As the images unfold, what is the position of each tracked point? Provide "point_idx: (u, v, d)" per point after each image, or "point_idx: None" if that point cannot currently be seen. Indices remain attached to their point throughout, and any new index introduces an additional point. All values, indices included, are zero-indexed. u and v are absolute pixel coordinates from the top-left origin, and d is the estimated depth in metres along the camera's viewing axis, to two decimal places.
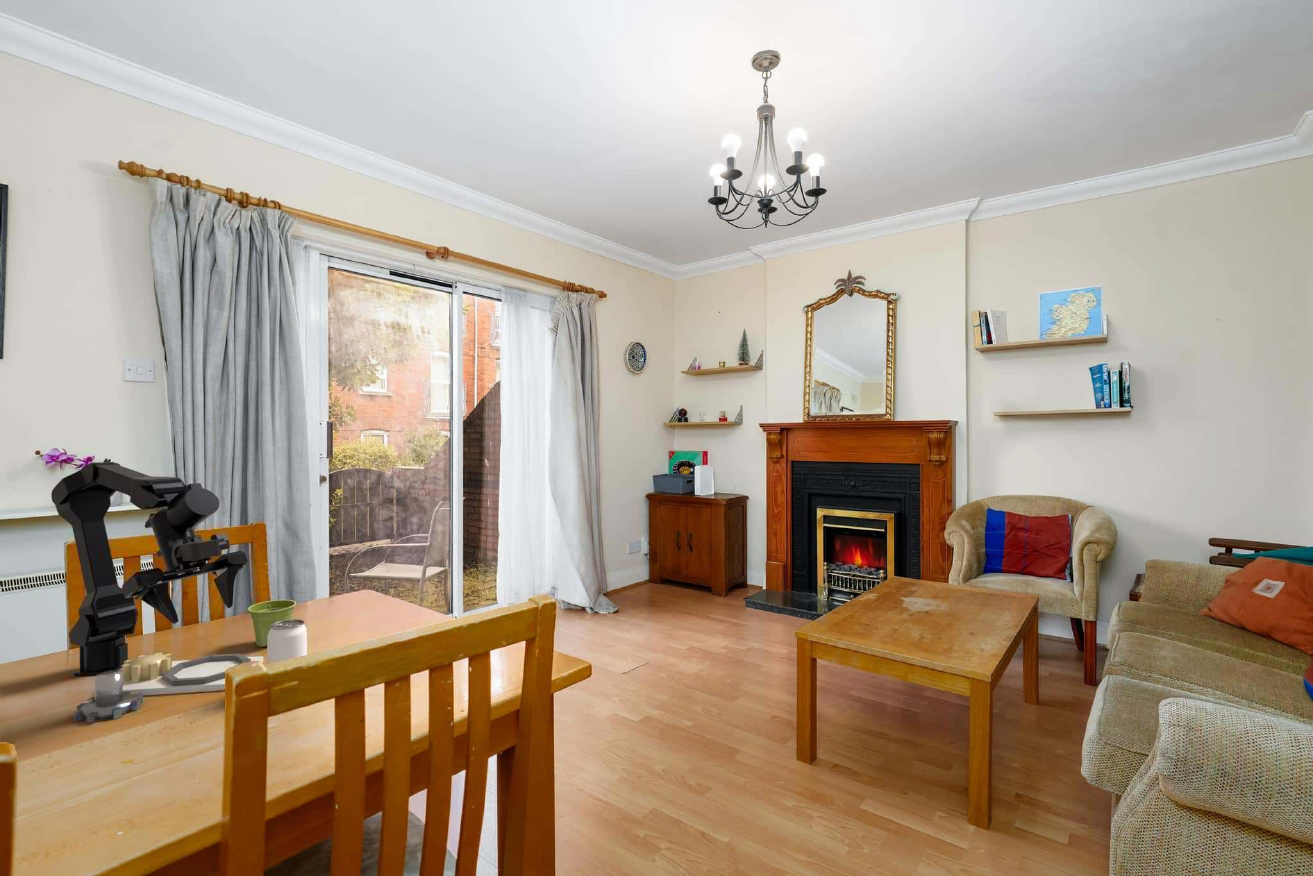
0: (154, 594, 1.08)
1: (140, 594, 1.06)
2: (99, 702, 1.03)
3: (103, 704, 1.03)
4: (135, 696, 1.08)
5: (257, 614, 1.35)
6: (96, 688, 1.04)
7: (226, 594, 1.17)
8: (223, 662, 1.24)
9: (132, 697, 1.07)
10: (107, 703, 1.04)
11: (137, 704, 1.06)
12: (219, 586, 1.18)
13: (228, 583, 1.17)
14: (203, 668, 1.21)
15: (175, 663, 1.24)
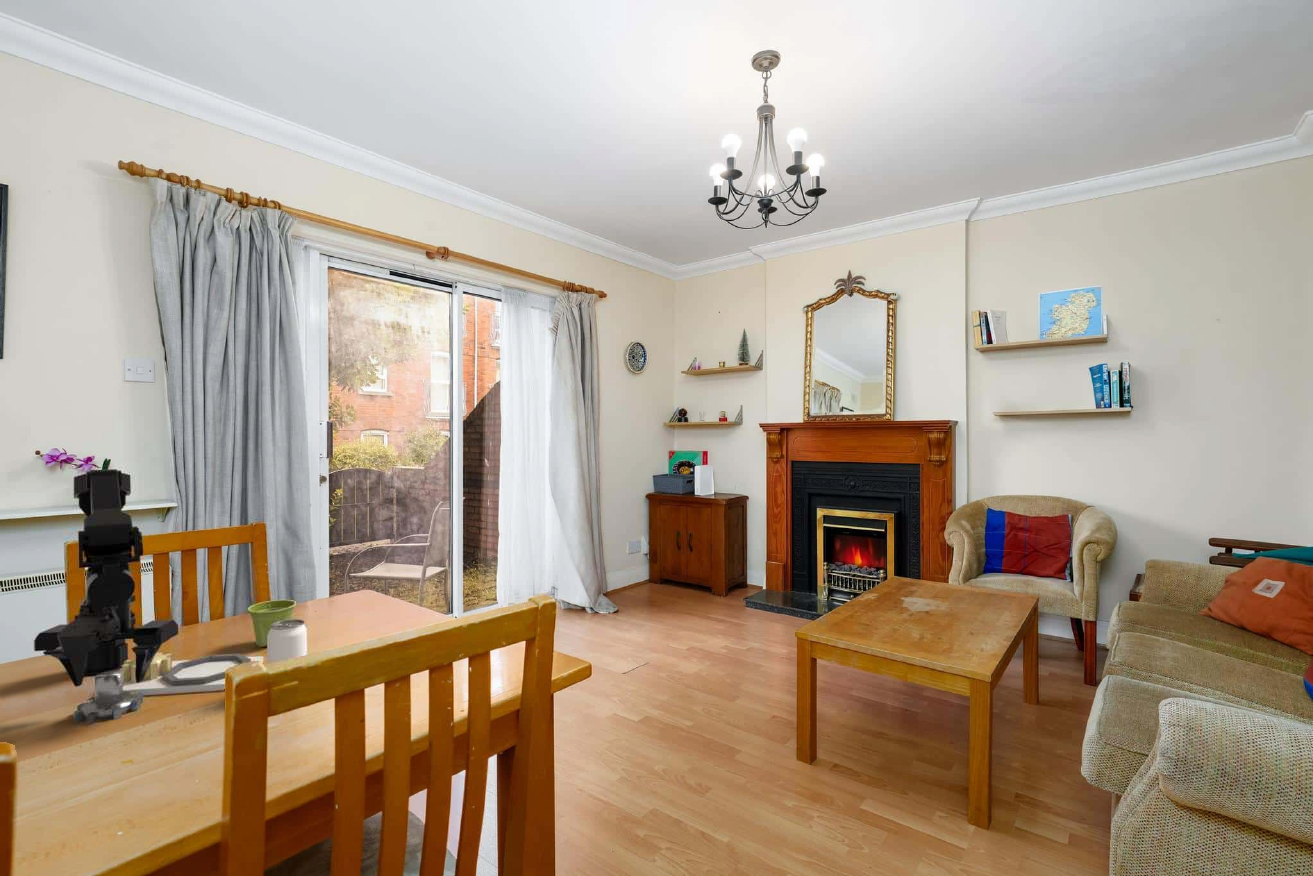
0: None
1: None
2: (99, 702, 1.03)
3: (103, 704, 1.03)
4: (135, 696, 1.08)
5: (257, 614, 1.35)
6: (96, 688, 1.04)
7: None
8: (223, 662, 1.24)
9: (132, 697, 1.07)
10: (107, 703, 1.04)
11: (137, 704, 1.06)
12: None
13: (136, 660, 1.05)
14: (203, 668, 1.21)
15: (175, 663, 1.24)
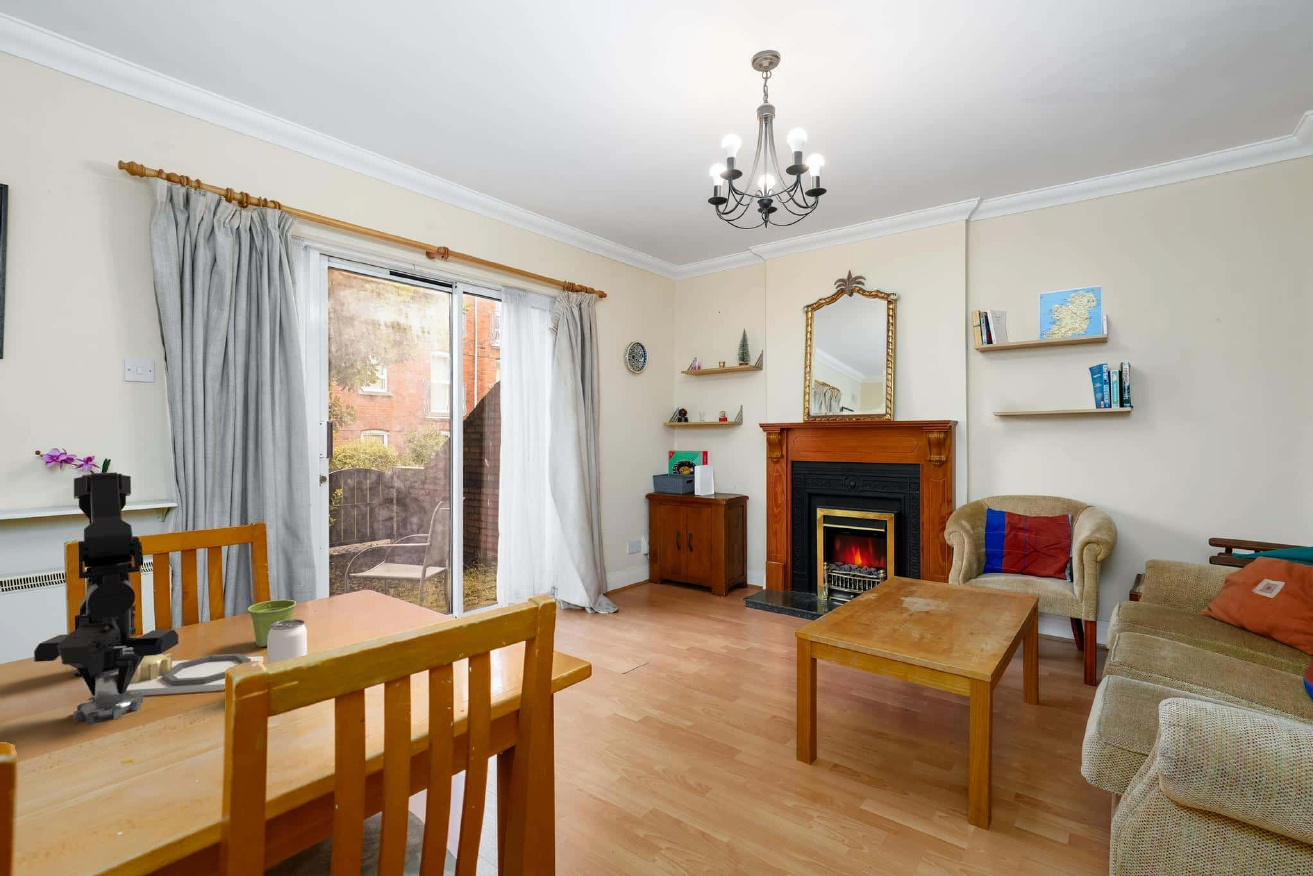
0: None
1: None
2: (99, 702, 1.03)
3: (103, 704, 1.03)
4: (135, 696, 1.08)
5: (257, 614, 1.35)
6: (96, 688, 1.04)
7: None
8: (223, 662, 1.24)
9: (132, 697, 1.07)
10: (107, 703, 1.04)
11: (137, 704, 1.06)
12: None
13: (119, 671, 1.04)
14: (203, 668, 1.21)
15: (175, 663, 1.24)
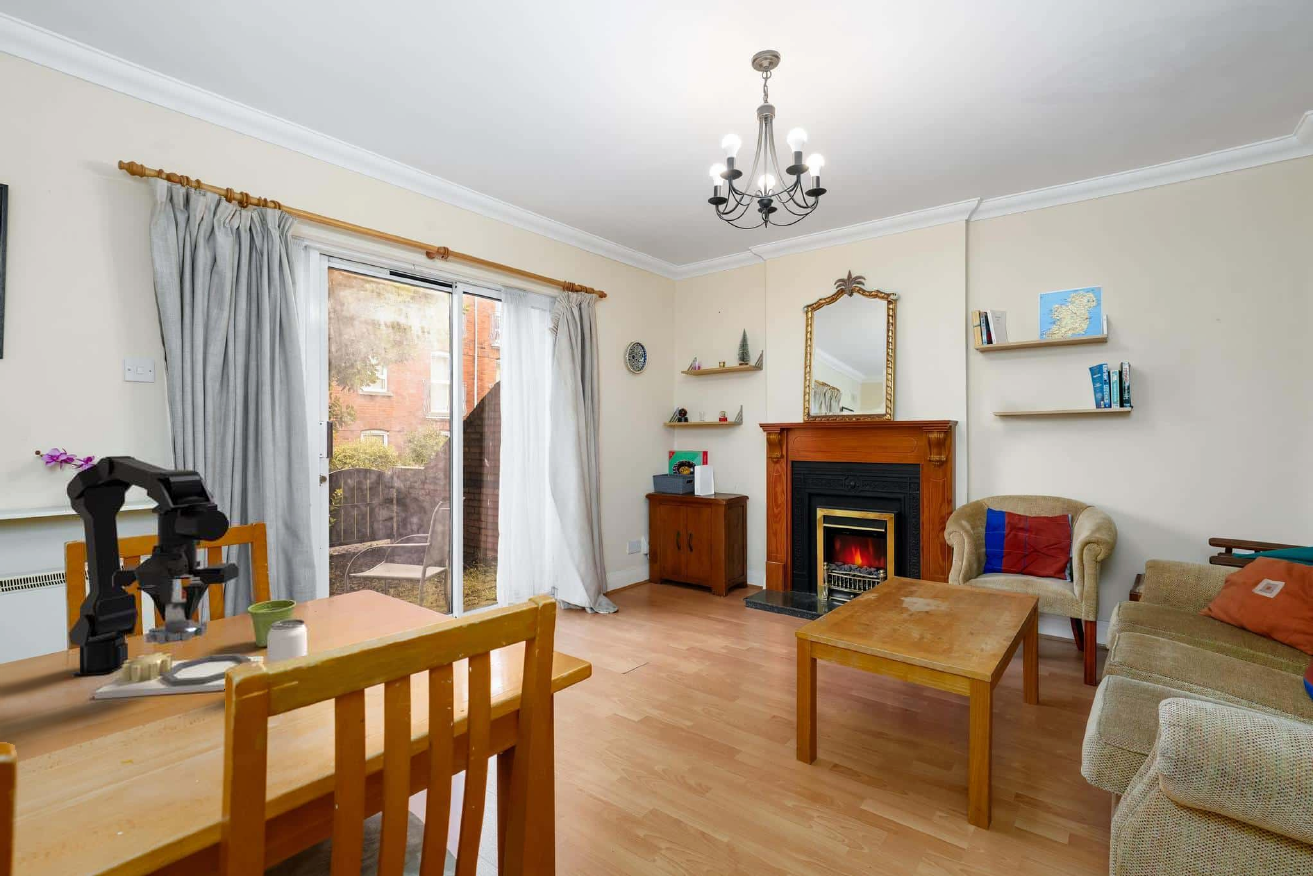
0: None
1: None
2: (169, 626, 1.13)
3: (172, 628, 1.13)
4: (200, 624, 1.17)
5: (257, 614, 1.35)
6: (166, 613, 1.13)
7: None
8: (223, 662, 1.24)
9: (197, 624, 1.17)
10: (176, 627, 1.13)
11: (202, 629, 1.15)
12: None
13: (187, 598, 1.14)
14: (203, 668, 1.21)
15: (175, 663, 1.24)
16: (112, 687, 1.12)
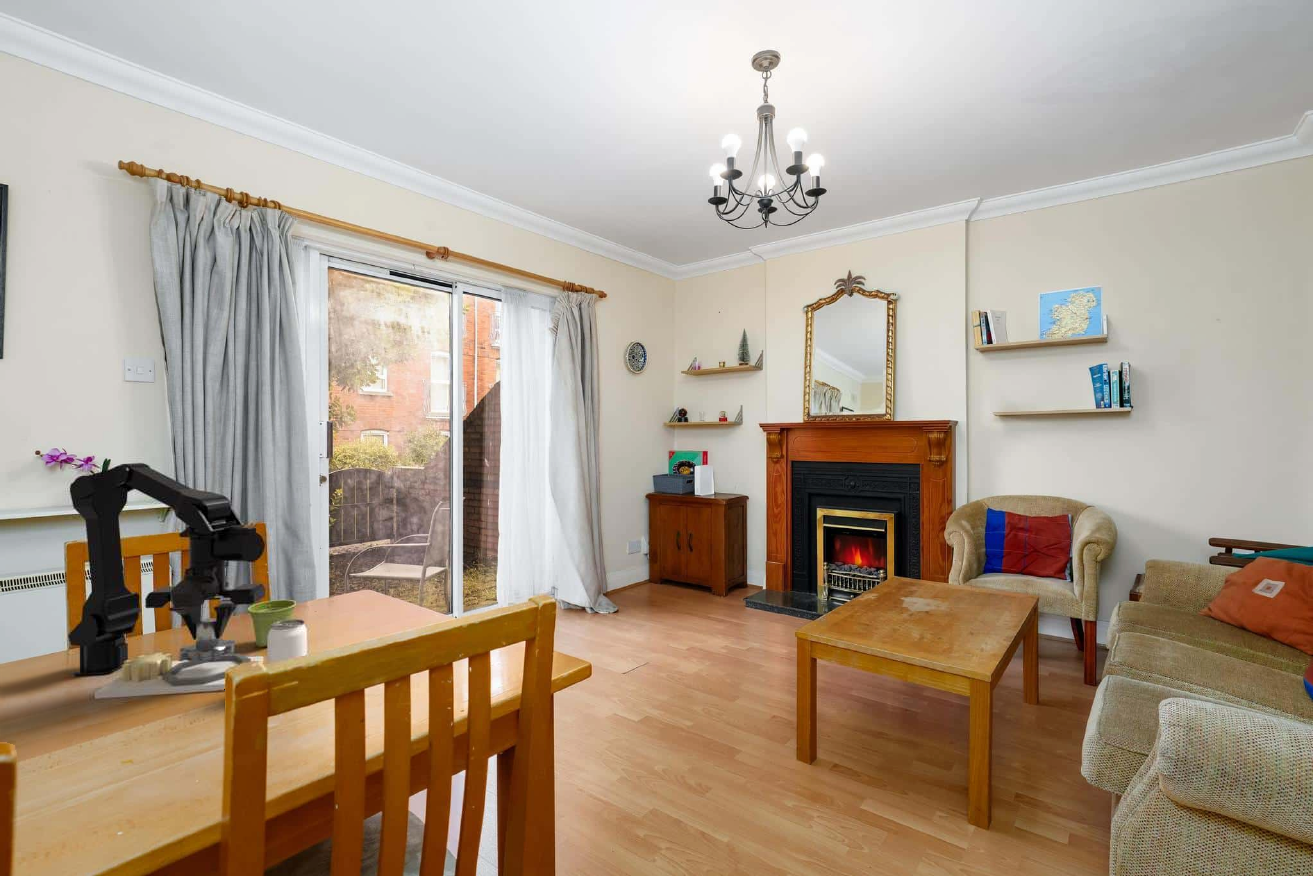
0: None
1: None
2: (200, 645, 1.18)
3: (203, 647, 1.18)
4: (228, 642, 1.22)
5: (257, 614, 1.35)
6: (197, 633, 1.18)
7: None
8: (223, 662, 1.24)
9: (226, 642, 1.22)
10: (207, 646, 1.18)
11: (231, 647, 1.20)
12: None
13: (217, 618, 1.19)
14: (203, 668, 1.21)
15: (175, 663, 1.24)
16: (112, 687, 1.12)
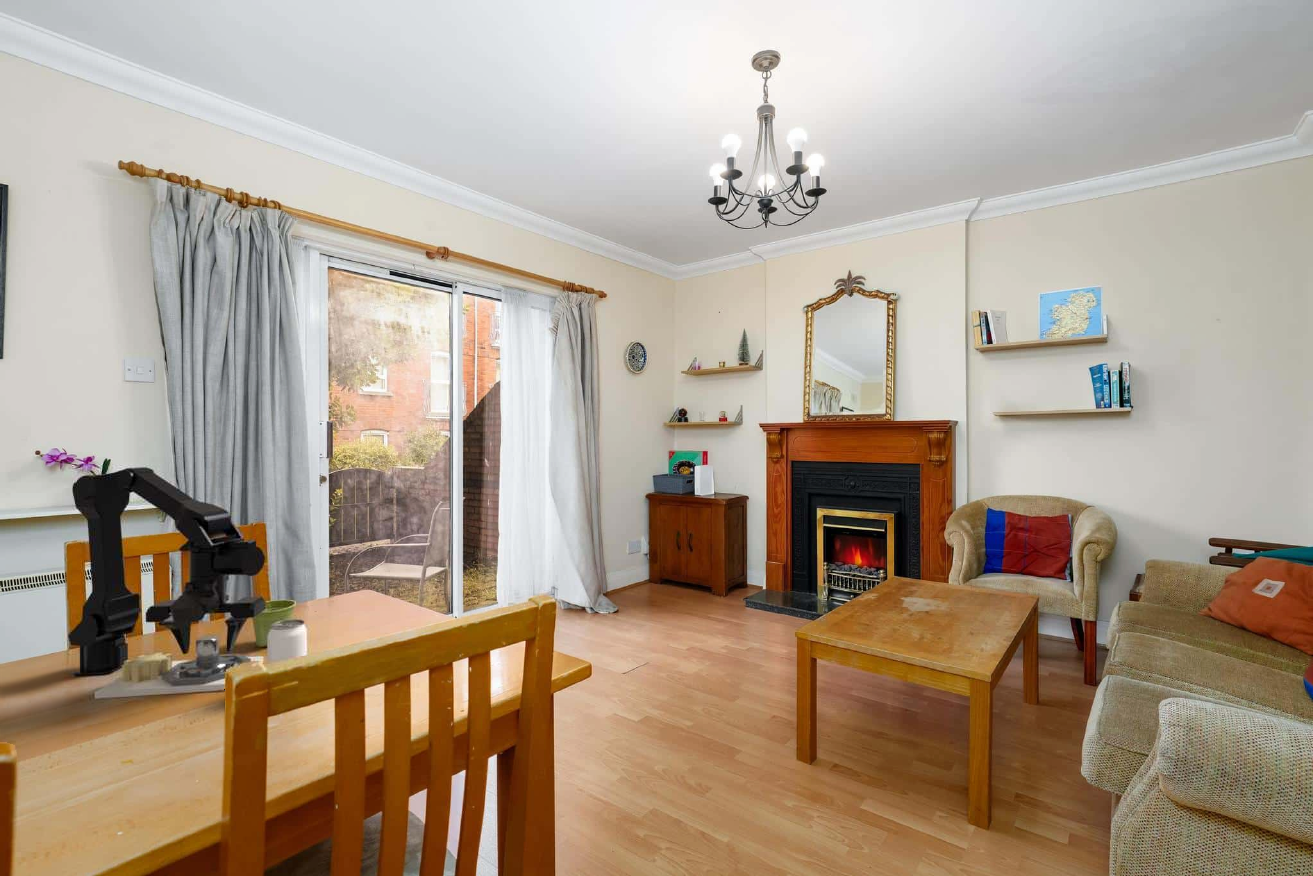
0: None
1: None
2: (200, 663, 1.18)
3: (203, 665, 1.18)
4: (228, 659, 1.22)
5: None
6: (197, 651, 1.18)
7: None
8: None
9: (226, 660, 1.22)
10: (207, 664, 1.18)
11: (232, 665, 1.20)
12: None
13: (228, 631, 1.19)
14: None
15: (175, 663, 1.24)
16: (112, 687, 1.12)
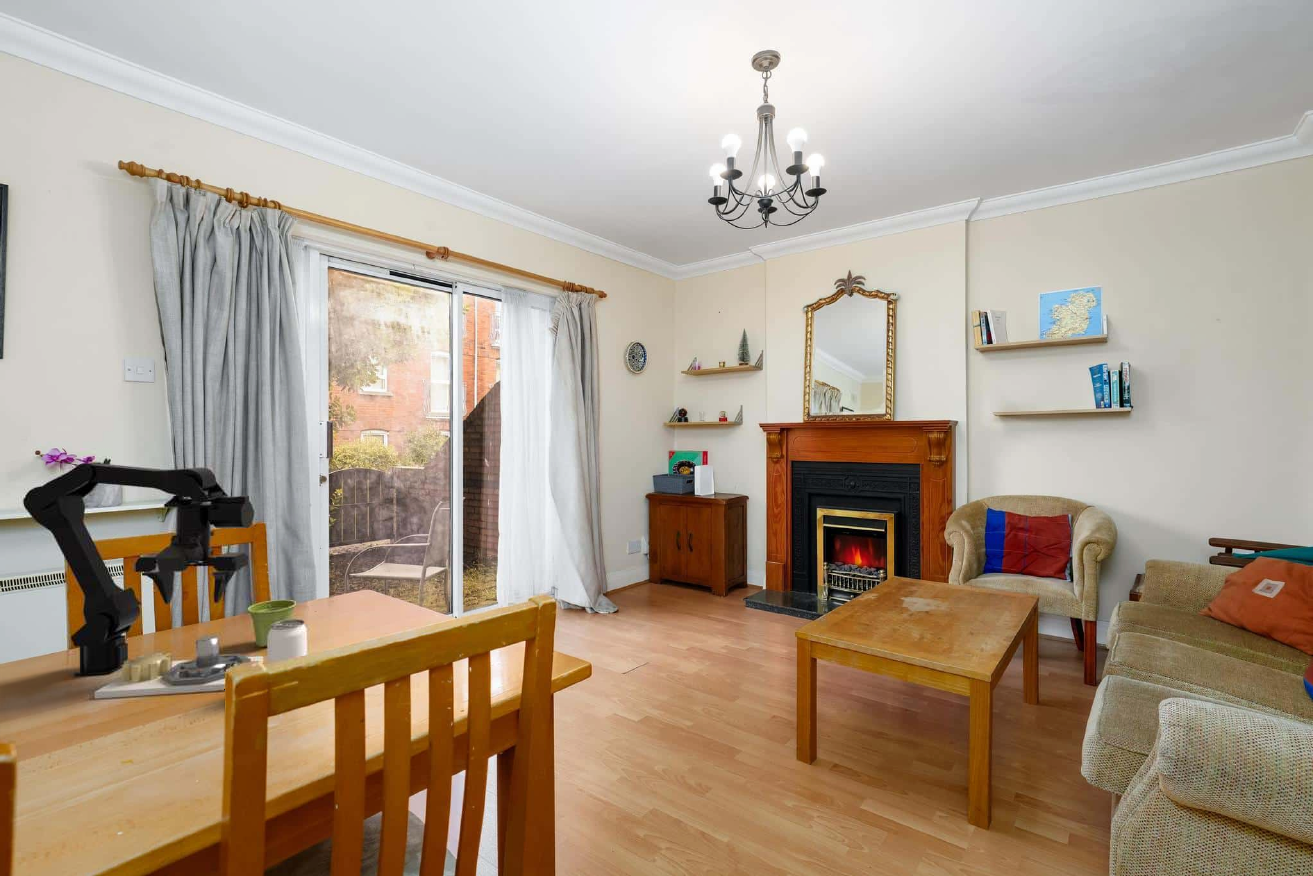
0: None
1: None
2: (200, 663, 1.18)
3: (203, 665, 1.18)
4: (228, 659, 1.22)
5: (257, 614, 1.35)
6: (197, 651, 1.18)
7: None
8: None
9: (226, 660, 1.22)
10: (207, 664, 1.18)
11: (232, 665, 1.20)
12: None
13: (215, 583, 1.26)
14: None
15: (175, 663, 1.24)
16: (112, 687, 1.12)
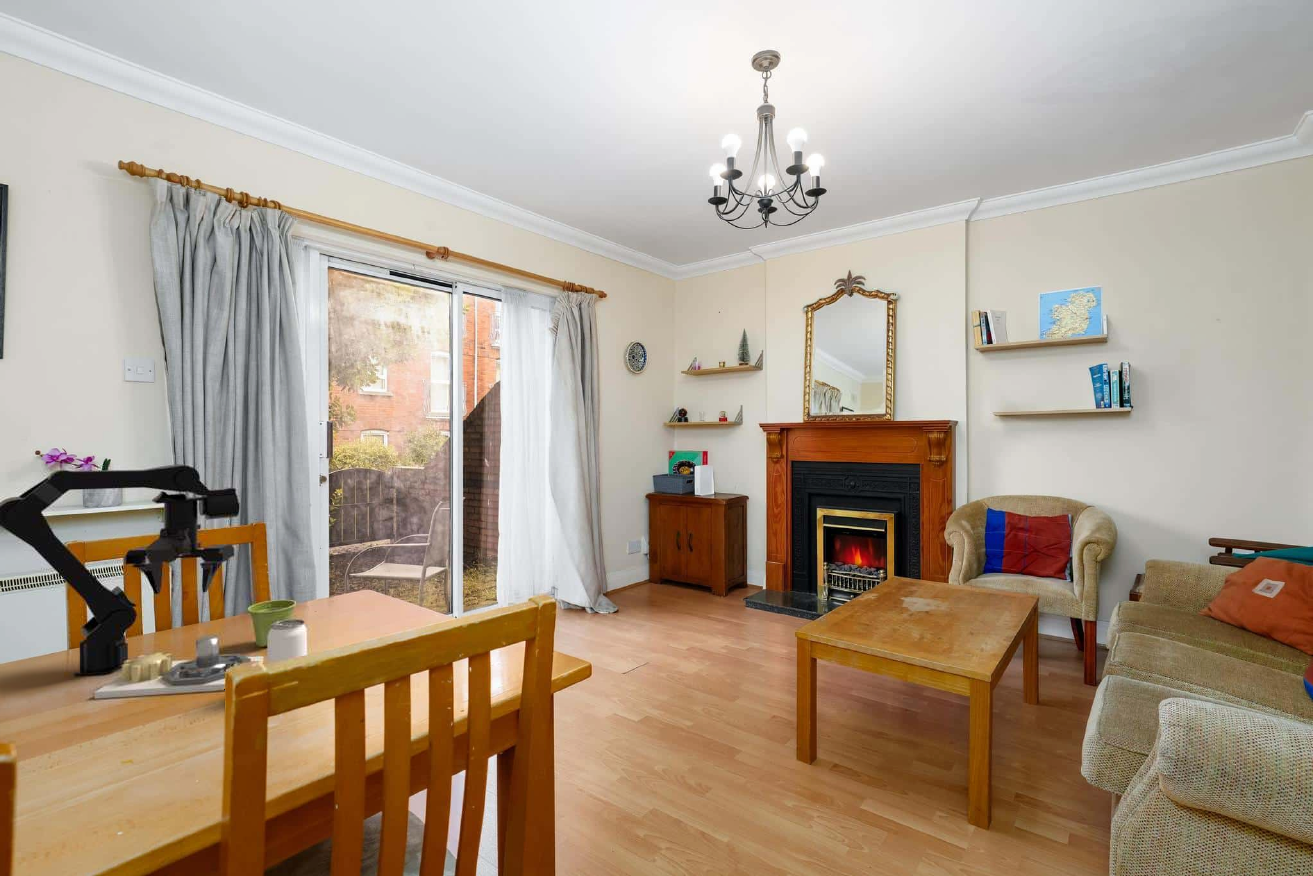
0: None
1: None
2: (200, 663, 1.18)
3: (203, 665, 1.18)
4: (228, 659, 1.22)
5: (257, 614, 1.35)
6: (197, 651, 1.18)
7: None
8: None
9: (226, 660, 1.22)
10: (207, 664, 1.18)
11: (232, 665, 1.20)
12: None
13: (203, 573, 1.32)
14: None
15: (175, 663, 1.24)
16: (112, 687, 1.12)
